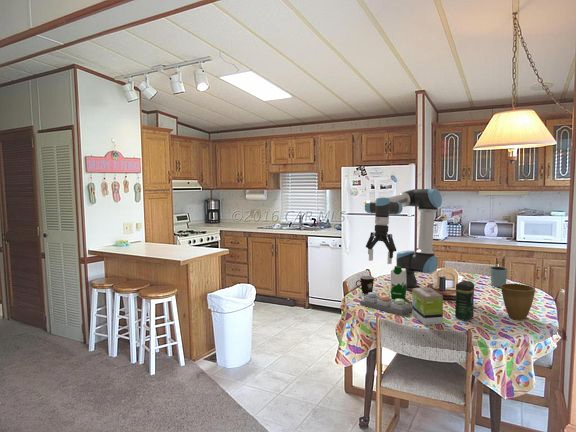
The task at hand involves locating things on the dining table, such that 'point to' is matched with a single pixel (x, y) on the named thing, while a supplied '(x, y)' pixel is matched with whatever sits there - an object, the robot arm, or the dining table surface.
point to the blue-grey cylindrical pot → (498, 276)
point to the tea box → (427, 306)
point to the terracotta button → (385, 298)
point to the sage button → (399, 301)
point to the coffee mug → (366, 284)
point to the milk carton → (398, 283)
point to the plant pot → (517, 300)
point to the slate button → (372, 295)
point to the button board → (386, 305)
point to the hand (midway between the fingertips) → (379, 262)
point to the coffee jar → (464, 300)
